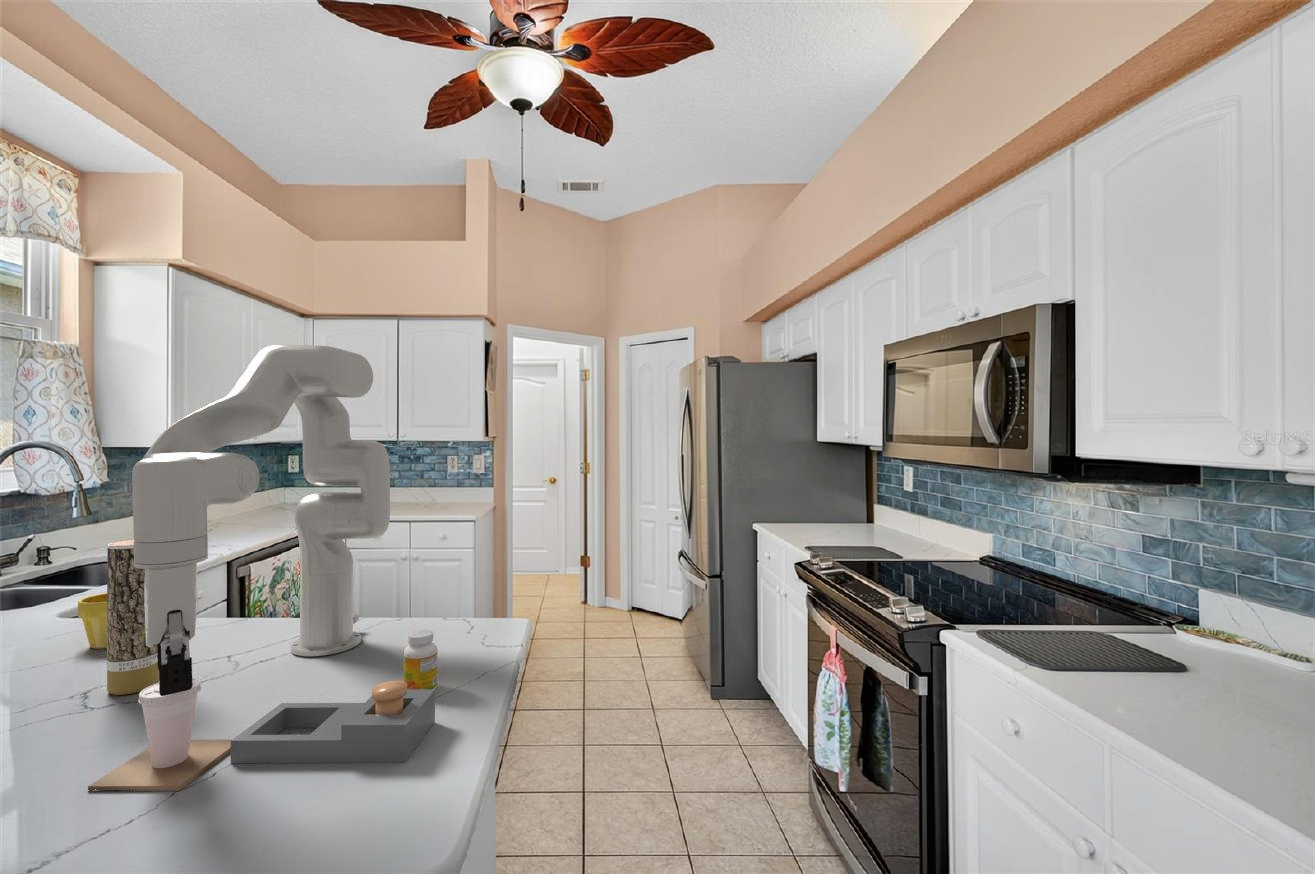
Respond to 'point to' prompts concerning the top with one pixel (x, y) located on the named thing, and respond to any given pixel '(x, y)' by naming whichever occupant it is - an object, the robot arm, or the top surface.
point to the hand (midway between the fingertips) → (174, 678)
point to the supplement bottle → (420, 661)
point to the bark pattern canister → (127, 624)
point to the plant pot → (94, 619)
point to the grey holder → (337, 732)
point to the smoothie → (169, 723)
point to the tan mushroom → (389, 697)
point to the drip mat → (164, 769)
